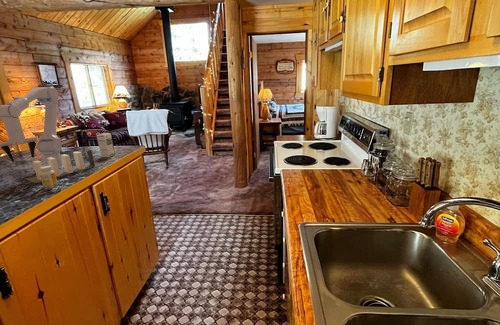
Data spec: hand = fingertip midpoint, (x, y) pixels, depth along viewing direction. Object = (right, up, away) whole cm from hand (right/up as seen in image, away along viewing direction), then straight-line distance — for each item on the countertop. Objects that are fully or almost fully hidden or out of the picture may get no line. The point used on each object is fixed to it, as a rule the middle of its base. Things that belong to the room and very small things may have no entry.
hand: (23, 159), depth 127 cm
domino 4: (+18, -5, +16) cm, 24 cm away
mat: (+12, -6, +13) cm, 19 cm away
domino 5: (+21, -3, +21) cm, 30 cm away
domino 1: (+8, -10, +2) cm, 12 cm away
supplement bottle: (+19, -13, -8) cm, 24 cm away
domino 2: (+11, -8, +6) cm, 15 cm away
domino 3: (+14, -6, +11) cm, 19 cm away
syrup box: (+20, +2, +40) cm, 45 cm away
